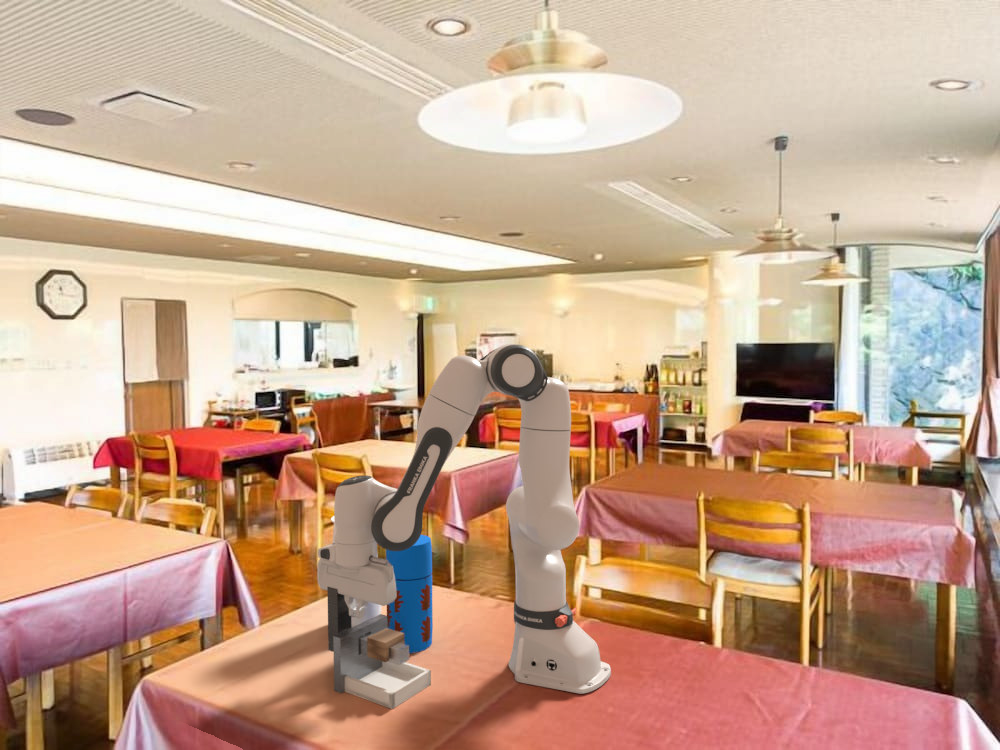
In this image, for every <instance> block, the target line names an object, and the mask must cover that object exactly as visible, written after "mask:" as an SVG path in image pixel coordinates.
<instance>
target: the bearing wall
mask: <svg viewBox="0 0 1000 750" xmlns="http://www.w3.org/2000/svg"><path fill="white" fill-rule="evenodd" d="M385 628H388V625H387V614H386V615H384V614H382V613H381V614H380V615H378V616H375V617H373V618H371V619H369V620H367V621H365V622H363V623H360V624H358V625H356V626H354V627H352V628H350V629H348V630H345V631H343V632H341V633H339V634H337V635H335V636H333V642H334V652H333V689H334V690H333V691H334V692H336V693H339V694H343V693H346V692H345V677H346V676H350V677H353V678H355V679H358V680H359V679H361V678H363V677H365V676H367V675H368V674H370V673H372V672H374V671H376V670H377V669H379V668H381V667H382V661H379V660H376V659H373V658H370V657H367V655H366V654H363V653H360V652H359V643H358V637H360V636H362V635H364V634H366V633H370V634H375V633H377V632H379V631H381V630H383V629H385Z"/></svg>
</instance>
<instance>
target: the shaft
mask: <svg viewBox="0 0 1000 750" xmlns="http://www.w3.org/2000/svg"><path fill="white" fill-rule="evenodd" d="M326 591H327V633H328V634H327V637H328V638H327V639H328V641H327V645H328V647H327V648H328V649H327V650H328V651H330V652H333V653H334V642H333V636H335V635H337V634H339V633H341V632H343V631H345V630H348V629H350V628H351V616H349V608H348V606H347V604H346V602H345V600H344V595H342V594H338V589H335V588H331V587H327V590H326ZM371 635H373V634H370V633H366V634H364V635H362V636H360V637H358V643H359V652H360V653H363V654H366V655H367V637H369V636H371ZM408 661H410V653H409V645H406V644H403V643H398V644H396V645H394V646H393V647H391V648H389V661H388V662H391V663H394V664H397V665H401V664H403V663H404V662H406V663H407V662H408Z"/></svg>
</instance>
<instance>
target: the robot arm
mask: <svg viewBox="0 0 1000 750" xmlns="http://www.w3.org/2000/svg"><path fill="white" fill-rule="evenodd" d="M495 392H497V393H499V394H502V395H505V396H509V397H514V398H516V399H518V401H519V404H520V411H521V418H520V431H519V448H518V450H519V451H518V465H519V469H520V473H521V478H522V485H521V486H518V487H516V488H514V489H513V490H512V492H510V494H509V495H508V497H507V499H506V503H505V511H506V514H507V518H508V523H509V531H510V539H511V547H512V552H513V559H514V568H515V600H514V602H513V620H514V621H513V622H514V624H515V625H514V636H513V644H512V650H511V654H510V657H509V661H508V667H509V669H510V671H511V672H512V673H513V674H514V680H515V681H516V682H517V683H522V684H527V685H532V686H536V687H537V686H538V687H543V688H547V689H553V690H558V691H559V690H560V691H563V692H564V691H565V692H568V693H569V692H570V693H575V694H579V695H580V694H582V695H583V694H587V693H591V692H593V691H595V690H597V689H598V688H600V687H602V686H603V685H604V684H605V683H606V682H607V681H608V680H609V678H610V677H611V675H612V669H611V666H610V664H609V663H607V662H604V661H602V659H601V654H600V649H599V646H598V644H597V642H596V641H595V640H594V639H593V638H592V637H591V636H590V635H589V634H588V633H587V632H585V631H584V629H582V628H581V627H580V625H579V624H577V623H576V622H575V621H574V617H573V616H574V615H576V613H577V607H574V608H573V609H571V608H570V606H569V604H568V601H567V596H566V595H567V591H566V589H567V587H566V586H567V584H566V583H567V582H566V580H567V578H566V577H567V575H566V573H567V569H566V564H565V562H564V559H563V556H562V551H561V550H564V549H566V548H568V547H570V546H571V545H572V544H573V543H574V542H575V540H576V539H577V538H578V535H579V531H580V521H579V517H578V515H577V512H576V509H575V504H574V497H573V496H574V495H573V487H572V481H571V471H570V455H571V454H570V453H571V451H570V449H571V432H572V430H571V429H572V410H571V409H572V408H571V407H572V406H571V397H570V390H569V388H568V386H567V384H566V383H565V382H564V381H562V380H561V379H557V378H555V377H552V376H551V377H550V376H548V375H547V373H546V371H545V369H544V367H543V365H542V363H541V361H540V359H539V357H538V356H537V354H536V353H535V352H534V351H533V350H532V349H531V348H529V347H528V346H525V345H523V344H518V343H517V344H516V343H507V344H503V345H500V346H499V347H497V348H495V349H493V350H492V351H490V352H489V353H488V354H486V355H485V356H483V357H481V358H480V359H477V358H475V357H472V356H469V355H462V354H461V355H457V356H454V357H452V358H451V359H450V360H449V361H448V363H446V365H445V366H444V368H443V369H442V371H441V372H440V373H439V375H438V376H437V378H436V380H435V381H434V383H433V385H432V386H431V388H430V390H429V391H428V394H427V396H426V398H425V401H424V403H423V406H422V408H421V411H420V414H419V418H418V422H417V430H416V431H417V433H416V434H417V435H416V443H415V449H414V452H413V456H412V458H411V461H410V462H409V465H408V467H407V470H406V471H405V473H404V475H403V477H402V479H401V482H400V484H399V485H398V487H397V488H396V487H392V486H389V485H386V484H384V483H382V482H380V481H378V480H376V479H375V478H374V476H371V475H356V476H353V477H349V478H347V479H344V480H343V481H342V482H340V484H339V485H338V486H337V487H336V489H335V493H334V494H335V495H334V508H333V511H334V515H333V516H334V521H335V524H336V535H335V543H333V542H332V543H333V544H332V543H330V544H327V545H325V546H322V547H319V548H318V549H317V557H318V558H319V559H318V563H317V568H316V569H317V575H316V577H317V584H318V586H319V588H320V590H323V591H327V587H331V588H335V589H338V594H342V595H344V600H345V602H346V604H347V606H348V608H349V616H352V617H355V618H359V619H360V618H363V617H364V609H365V607H366V605H367V604H368V602H371V603H375V604H378V605H381V607H382V606H383V607H385V606H387V605H388V604H390V603H392V602H394V600H395V599H396V597H397V593H396V582H395V576H394V570H393V566H392V565H391V564H390V563H389V562H388V560H387V559H386V558H380V557H377V556H378V545H379V546H380V547H381V548H383V549H385V550H386V549H387V550H390V551H403V550H406V549H408V548H410V547H411V546H413V545H414V544H415V543H416V542H417V541H418V539H419V537H420V535H422V531H423V520H424V519H423V517H424V516H423V515H424V509H425V507H426V506H425V505H426V503H427V501H428V499H429V496H430V494H431V492H432V490H433V488H434V486H435V484H436V482H437V479H438V477H439V475H440V473H441V471H442V469H443V467H444V464H445V463H446V462H447V460H448V459H449V457H450V456H451V454H452V453H453V451H454V450H455V448H456V447H457V445H458V444H459V443H460V441H461V439H462V438H463V437H464V435H465V434H466V433H467V431H468V429H469V428H470V426H471V424H472V422H473V420H474V418H475V417H476V415H477V413H478V410H479V407H480V406H481V404H482V403H483V401H484V400H485V398H487V397H488V395H491V394H492V393H495ZM377 544H378V545H377ZM387 564H388V565H387ZM354 598H356V599H357V603H359V605H358V607H357V605H356V602H355V599H354Z"/></svg>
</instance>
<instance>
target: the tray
mask: <svg viewBox="0 0 1000 750" xmlns="http://www.w3.org/2000/svg"><path fill="white" fill-rule="evenodd" d="M431 685H432V670H430V669H428V668H424V667H421V666H419V665H415V664H413V663H409V662H407V661H406V662H404V663H403V664H401V665H397V664H394V663H391V662H388V661H387V662H382V667H381V668H379V669H377V670H376V671H374V672H372V673H370V674H368V675H367V676H365V677H363V678H361V679H359V680H358V679H355V678H353V677H350V676H346V677H345V692H344V693H348V694H350V695H352V696H353V695H354V696H356V697H359V698H360V699H364V700H366V701H369V702H371V703H375V704H378V705H380V706H382V707H384V708H388V709H390V710H393V709H394V708H395V709H396V707H398V706H400V705H401V704H403V703H404V702H405V701H408V700H409V699H411V698H412V697H414V696H415V695H417V694H418V693H420V692H421V691H423V690H424V689H426V688H428V687H429V686H431Z"/></svg>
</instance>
